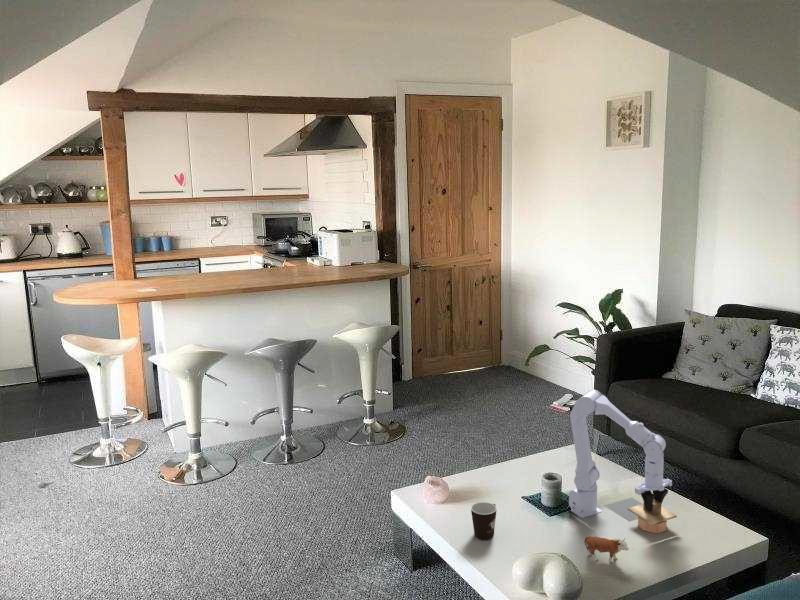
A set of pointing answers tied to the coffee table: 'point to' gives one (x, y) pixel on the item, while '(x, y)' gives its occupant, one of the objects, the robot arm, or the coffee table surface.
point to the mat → (624, 508)
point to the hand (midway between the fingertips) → (652, 509)
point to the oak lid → (652, 513)
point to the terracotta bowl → (652, 526)
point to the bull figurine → (605, 546)
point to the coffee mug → (483, 520)
